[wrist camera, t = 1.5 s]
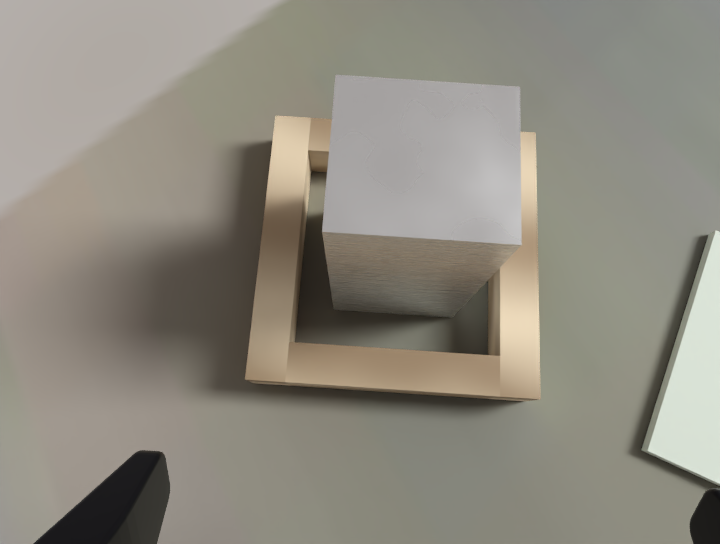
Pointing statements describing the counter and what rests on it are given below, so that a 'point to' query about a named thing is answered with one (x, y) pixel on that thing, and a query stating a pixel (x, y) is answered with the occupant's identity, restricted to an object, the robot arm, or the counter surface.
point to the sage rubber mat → (693, 380)
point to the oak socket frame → (382, 365)
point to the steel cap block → (420, 192)
